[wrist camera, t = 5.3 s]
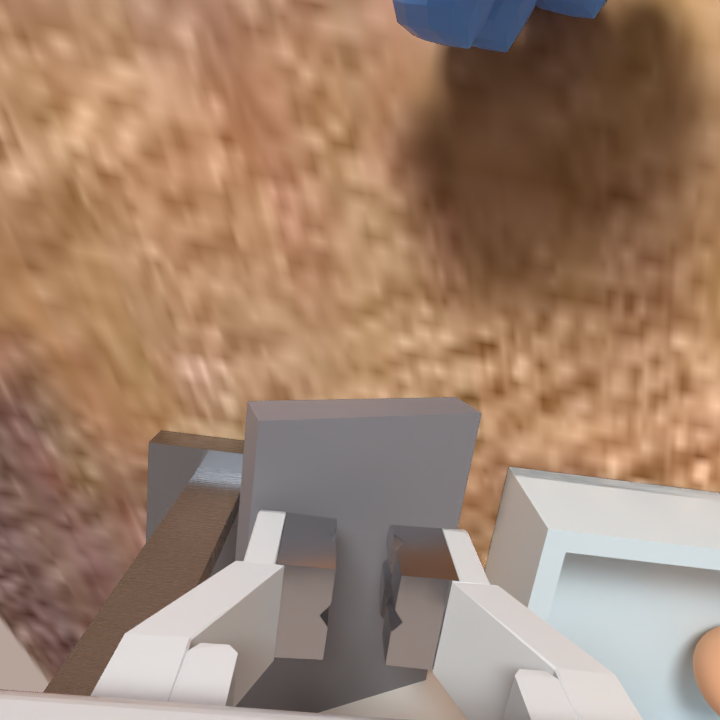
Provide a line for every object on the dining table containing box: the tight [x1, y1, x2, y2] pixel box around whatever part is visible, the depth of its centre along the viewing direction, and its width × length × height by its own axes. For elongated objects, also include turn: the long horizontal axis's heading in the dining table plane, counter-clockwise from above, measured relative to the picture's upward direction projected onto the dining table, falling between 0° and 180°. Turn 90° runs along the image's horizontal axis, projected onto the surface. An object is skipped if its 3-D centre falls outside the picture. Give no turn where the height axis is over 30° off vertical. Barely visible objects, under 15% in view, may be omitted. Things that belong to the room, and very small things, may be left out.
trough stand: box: [43, 431, 244, 696], centre depth 16 cm, size 6×13×13 cm, turn 172°
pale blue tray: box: [485, 467, 720, 720], centre depth 20 cm, size 14×14×4 cm
